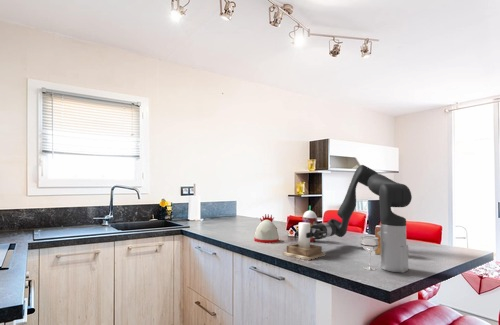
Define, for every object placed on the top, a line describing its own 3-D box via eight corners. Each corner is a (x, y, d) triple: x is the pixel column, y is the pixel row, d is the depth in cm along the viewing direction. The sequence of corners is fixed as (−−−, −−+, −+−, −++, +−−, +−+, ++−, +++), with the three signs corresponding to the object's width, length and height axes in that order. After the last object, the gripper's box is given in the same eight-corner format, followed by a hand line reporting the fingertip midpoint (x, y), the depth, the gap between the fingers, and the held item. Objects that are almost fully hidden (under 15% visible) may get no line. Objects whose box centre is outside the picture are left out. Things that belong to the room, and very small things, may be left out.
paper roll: (312, 249, 142) (312, 223, 143) (305, 251, 138) (306, 224, 139) (302, 248, 146) (302, 222, 146) (296, 249, 142) (296, 223, 143)
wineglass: (381, 268, 122) (381, 237, 122) (375, 272, 117) (375, 239, 117) (364, 265, 126) (364, 235, 127) (357, 268, 121) (357, 237, 122)
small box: (374, 254, 147) (374, 226, 148) (376, 251, 152) (376, 225, 153) (393, 256, 143) (393, 228, 144) (394, 254, 148) (394, 226, 149)
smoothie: (319, 240, 178) (319, 205, 179) (314, 243, 171) (314, 206, 172) (305, 239, 182) (305, 204, 184) (300, 241, 175) (300, 205, 177)
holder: (325, 255, 142) (325, 246, 142) (309, 260, 132) (309, 250, 132) (299, 250, 152) (299, 241, 152) (282, 254, 141) (282, 245, 142)
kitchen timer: (277, 243, 167) (278, 215, 168) (252, 242, 169) (253, 214, 170) (279, 239, 181) (279, 213, 182) (256, 238, 183) (256, 212, 184)
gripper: (308, 221, 158) (288, 224, 146) (334, 224, 149) (315, 228, 136) (308, 236, 158) (288, 240, 145) (334, 240, 148) (315, 245, 136)
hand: (301, 234), depth 141 cm, fingers closed on paper roll, 5 cm apart
